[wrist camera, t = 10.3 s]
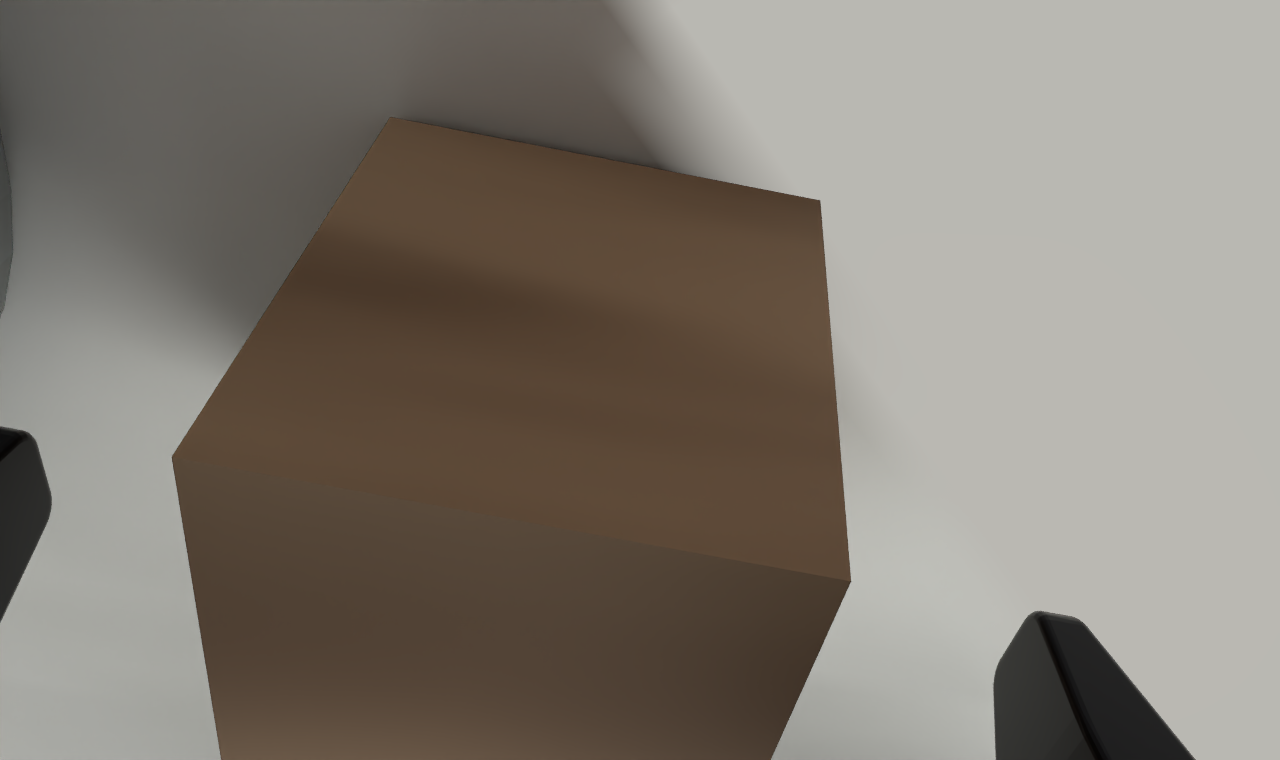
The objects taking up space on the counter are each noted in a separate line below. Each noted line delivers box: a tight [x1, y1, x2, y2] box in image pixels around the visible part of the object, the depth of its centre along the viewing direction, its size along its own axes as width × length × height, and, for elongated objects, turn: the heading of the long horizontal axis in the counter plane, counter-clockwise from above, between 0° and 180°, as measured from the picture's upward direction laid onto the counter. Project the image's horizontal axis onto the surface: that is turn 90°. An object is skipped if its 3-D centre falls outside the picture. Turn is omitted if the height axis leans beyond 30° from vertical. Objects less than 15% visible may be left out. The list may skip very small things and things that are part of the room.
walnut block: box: [172, 117, 851, 760], centre depth 10 cm, size 4×4×5 cm
